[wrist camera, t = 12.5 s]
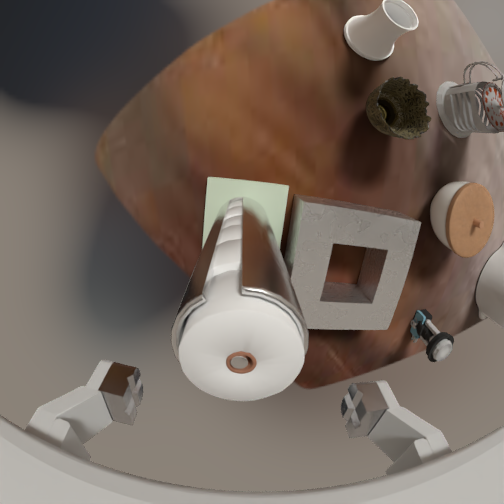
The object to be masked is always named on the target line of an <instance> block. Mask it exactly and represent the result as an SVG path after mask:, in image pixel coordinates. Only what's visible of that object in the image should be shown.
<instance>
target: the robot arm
mask: <svg viewBox="0 0 504 504" xmlns="http://www.w3.org/2000/svg"><path fill="white" fill-rule="evenodd" d="M476 303H477V305H478V308H479V318H480V319H482V320H483V319H486V318H490V319H491V320H492V321H494V322H495V323H496V324H497V325H499V326H500V327H502V328H504V243H503V244H502V246H501V247H500V248H499V249H498V250H497V251H496V252H495V253H494V254H493V255H492V256H491V257H490V259H489V260H488V262H487V263H486V265H485V267H484V269H483V271H482V273H481V275H480V278H479V281H478V285H477V289H476ZM139 377H140V370H139V368H136V367H132V366H128V365H124V364H120V363H116V362H111V361H108V360H105V359H103V360H101V361H100V362H99V364H98V366H97V367H96V369H95V371H94V373H93V374H92V376H91V378H90V379H89V381H88V383H87V385H86V386H81V387H79V388H77V389H75V390H73V391H71V392H69V393H67V394H65V395H63V396H61V397H59V398H57V399H55V400H53V401H51V402H49V403H47V404H45V405H43V406H40V407H39V408H38V409H37V411H36V412H35V414H34V415H33V417H32V419H31V421H30V422H29V424H28V426H27V427H26V429H25V430H24V429H22V428H21V427H19V426H17V425H15V424H14V423H12V422H11V421H9V420H7V419H6V418H4V417H3V416H1V415H0V504H504V426H502V427H500V428H498V429H496V430H494V431H492V432H491V433H489V434H487V435H485V436H484V437H482V438H480V439H478V440H476V441H475V442H472V443H470V444H468V445H466V446H464V447H462V448H460V449H458V450H455V451H453V452H452V451H451V449H450V447H449V445H448V443H447V441H446V439H445V438H444V436H443V434H442V432H441V431H440V430H438V429H437V428H435V427H433V426H432V425H430V424H429V423H427V422H426V421H424V420H422V419H421V418H419V417H418V416H416V415H414V414H413V413H412V412H410V411H409V410H407V409H406V408H404V407H400V406H399V404H398V402H397V400H396V398H395V396H394V394H393V392H392V391H391V389H390V387H389V385H388V383H387V382H386V381H384V380H382V381H374V382H373V381H372V382H360V383H352V384H351V385H350V386H349V388H348V392H349V394H347V395H346V396H345V397H344V398H343V400H342V404H341V413H342V417H343V418H344V419H345V420H346V421H347V423H346V425H345V426H346V430H347V432H348V436H349V438H355V437H362V436H367V437H368V438H369V439H370V440H371V441H372V442H373V443H374V444H375V445H376V446H377V447H379V448H380V449H381V450H382V451H383V452H384V453H385V454H386V455H387V456H388V457H389V458H390V459H391V460H392V461H394V463H393V464H392V465H391V466H390V467H389V468H388V469H387V470H386V474H387V475H385V476H382V477H378V478H373V479H369V480H365V481H360V482H355V483H350V484H345V485H339V486H332V487H325V488H317V489H307V490H296V491H276V492H246V491H226V490H215V489H205V488H196V487H190V486H183V485H177V484H171V483H166V482H161V481H156V480H152V479H147V478H143V477H140V476H136V475H132V474H129V473H125V472H121V471H118V470H115V469H112V468H109V467H106V466H103V465H100V464H97V463H94V462H92V461H90V458H91V456H90V454H89V453H88V451H87V450H86V449H85V447H84V446H83V444H84V443H86V442H87V441H88V440H90V439H91V438H92V437H94V436H95V435H96V434H98V433H99V432H100V431H101V430H103V429H104V428H105V427H106V426H108V425H109V424H110V423H112V420H113V421H116V422H120V423H124V424H129V425H133V423H134V421H135V418H136V415H137V410H136V407H137V406H138V405H140V403H141V400H142V396H143V385H142V382H141V381H140V380H139Z"/></svg>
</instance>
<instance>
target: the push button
mask: <svg viewBox="0 0 504 504" xmlns="http://www.w3.org/2000/svg"><path fill="white" fill-rule="evenodd" d="M431 319H432V315H431V314H430V313H429V312H428V311H427V310H426V309H425V310H418V311H416V314H415V318H414V321H413V320H412V321H411V326H412V327H411V330H410V332H411V333H412V338H411V340H413V339H414V341H413V342H417V339H418V338H420V339H421V340H422V341H423V342H424V343H425V344H426V346H427V348H426V354H427V355H428V359H429V360H430V361H431V362H435V361H442V360H444V359H445V358H446V357H447V356H448V355H449V354H450V353H451V351H452V348H453V342H454V339H453V337H452V336H451V335H450V334H448V333H446V332H439V331H438V329H437V328H436V327H435V326H434V325H433V324H432V323H431ZM412 322H413V324H412ZM413 337H414V338H413ZM415 340H416V341H415Z"/></svg>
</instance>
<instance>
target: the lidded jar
mask: <svg viewBox="0 0 504 504" xmlns="http://www.w3.org/2000/svg"><path fill="white" fill-rule="evenodd" d="M430 220H431V225H432V228H433V230H434V232H435V234H436V236H437V237H438V239H439V240H440V241H441V242H442V243H443V244H444V245H445V246H446V247H447V248H449V249H450V250H452V251H453V252H454V253H456V254H457V255H459V256H461V257H464V258H468V257H472V256H474V255H476V254H477V253H479V252H480V251H481V250H482V248H483V247H484V246H485V244H486V243H487V241H488V239H489V237H490V234H491V231H492V228H493V223H494V206H493V201H492V198H491V196H490V194H489V192H488V191H487V189H486V188H485V187H484V186H482V185H480V184H477V183H469V182H460V181H457V182H452V183H449V184H447V185H445V186H443V187H442V188H441V189H440V190H439V191H438V192H437V193H436V195H435V197H434V198H433V200H432V203H431V206H430Z"/></svg>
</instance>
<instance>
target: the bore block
mask: <svg viewBox="0 0 504 504" xmlns="http://www.w3.org/2000/svg"><path fill="white" fill-rule="evenodd" d="M420 226H421V222H420V221H417V220H415V219H413V218H411V217H409V216H407V215H405V214H402V213H400V212H397V211H392V210H387V209H382V208H376V207H371V206H366V205H360V204H355V203H349V202H343V201H337V200H331V199H325V198H318V197H311V196H304V195H297V194H294V199H293V206H292V213H291V219H290V226H289V232H288V238H287V245H286V251H285V257H284V263H285V265H286V268H287V271H288V274H289V276H290V279H291V282H292V285H293V288H294V290H295V293H296V296H297V299H298V302H299V305H300V308H301V310H302V313H303V316H304V319H305V322H306V325H307V329H334V330H386V329H388V327H389V324H390V322H391V319H392V317H393V314H394V311H395V309H396V306H397V303H398V300H399V298H400V295H401V292H402V289H403V286H404V283H405V280H406V277H407V273H408V270H409V267H410V263H411V260H412V257H413V253H414V249H415V246H416V242H417V238H418V234H419V230H420ZM333 243H336V244H345V245H353V246H361V247H366V251H365V255H364V259H363V263H362V267H361V271H360V275H359V278H358V282H357V284H348V283H335V282H325V278H326V273H327V269H328V265H329V260H330V256H331V251H332V246H333Z"/></svg>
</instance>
